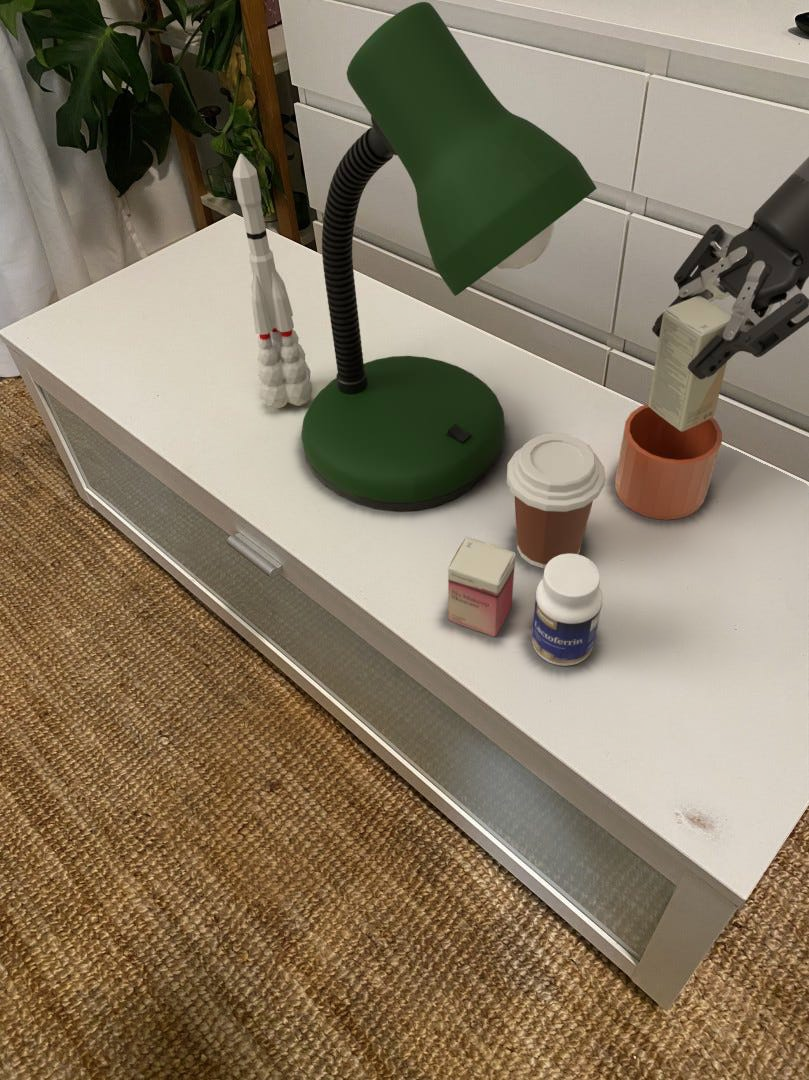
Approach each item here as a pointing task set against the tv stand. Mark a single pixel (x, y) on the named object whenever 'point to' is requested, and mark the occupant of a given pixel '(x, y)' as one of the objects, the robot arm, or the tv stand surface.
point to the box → (686, 363)
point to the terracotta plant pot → (665, 465)
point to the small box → (480, 586)
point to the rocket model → (270, 305)
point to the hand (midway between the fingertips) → (676, 354)
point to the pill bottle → (567, 610)
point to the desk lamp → (457, 253)
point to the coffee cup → (553, 495)
